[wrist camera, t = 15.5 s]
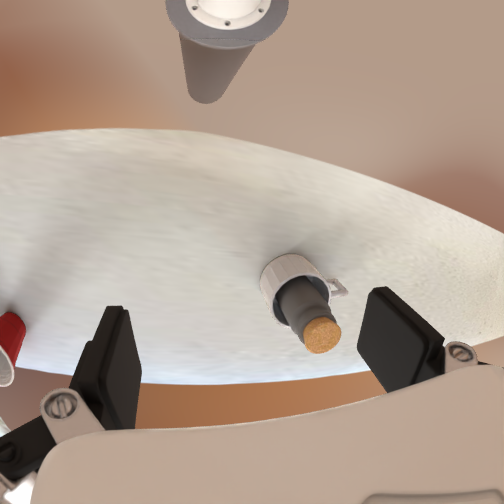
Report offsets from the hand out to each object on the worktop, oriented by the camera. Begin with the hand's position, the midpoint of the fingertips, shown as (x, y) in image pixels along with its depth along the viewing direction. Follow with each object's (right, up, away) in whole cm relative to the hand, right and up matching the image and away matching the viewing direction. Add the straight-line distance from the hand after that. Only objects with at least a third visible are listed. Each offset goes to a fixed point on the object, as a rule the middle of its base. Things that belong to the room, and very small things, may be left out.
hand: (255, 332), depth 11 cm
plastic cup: (-45, -11, +32) cm, 56 cm away
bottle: (+6, -2, +38) cm, 38 cm away
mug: (+7, -2, +38) cm, 39 cm away
